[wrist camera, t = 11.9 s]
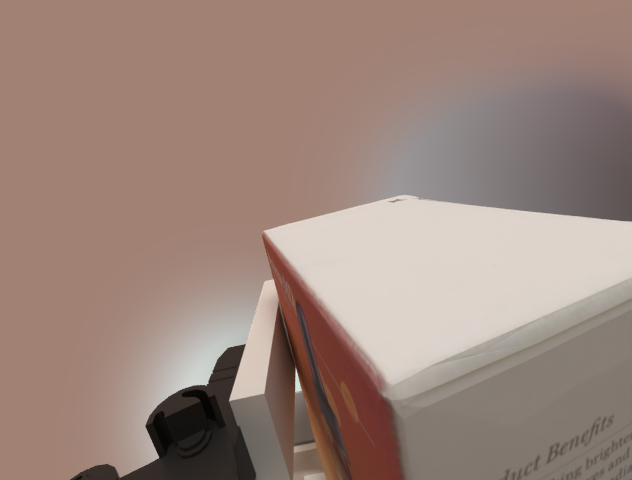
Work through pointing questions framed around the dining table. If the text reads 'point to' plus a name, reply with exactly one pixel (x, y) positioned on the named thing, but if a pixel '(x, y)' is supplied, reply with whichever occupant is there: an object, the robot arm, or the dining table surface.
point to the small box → (460, 340)
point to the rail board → (305, 445)
